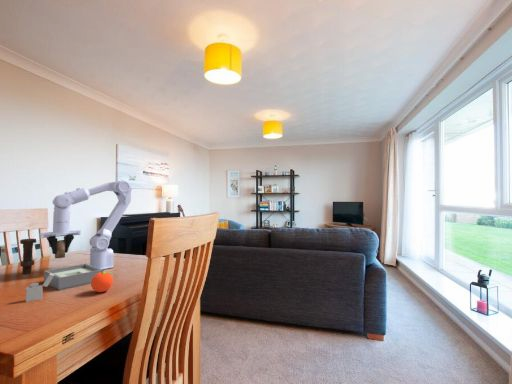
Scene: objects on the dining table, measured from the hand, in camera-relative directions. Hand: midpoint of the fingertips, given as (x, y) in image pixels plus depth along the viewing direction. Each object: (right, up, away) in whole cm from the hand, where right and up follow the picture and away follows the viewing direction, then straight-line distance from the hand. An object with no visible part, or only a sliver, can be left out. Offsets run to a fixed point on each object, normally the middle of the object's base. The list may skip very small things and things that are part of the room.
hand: (60, 253), depth 114 cm
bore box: (+12, -9, -9) cm, 18 cm away
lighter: (+14, -9, -28) cm, 32 cm away
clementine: (+31, -10, -20) cm, 38 cm away
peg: (0, -2, 0) cm, 2 cm away
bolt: (-15, -9, 0) cm, 18 cm away
